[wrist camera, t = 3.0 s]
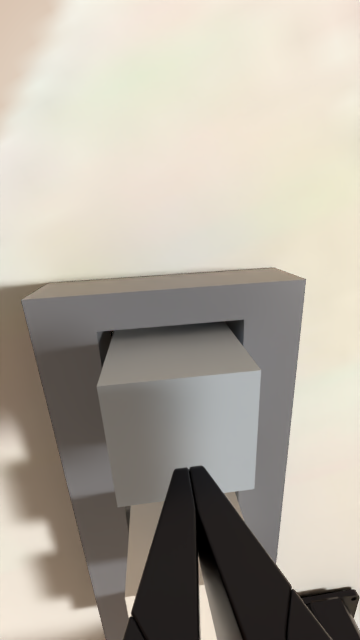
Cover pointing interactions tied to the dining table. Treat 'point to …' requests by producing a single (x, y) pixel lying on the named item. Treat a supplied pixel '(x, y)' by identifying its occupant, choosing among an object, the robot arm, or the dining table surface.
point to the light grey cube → (178, 408)
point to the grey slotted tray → (84, 408)
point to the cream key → (138, 550)
